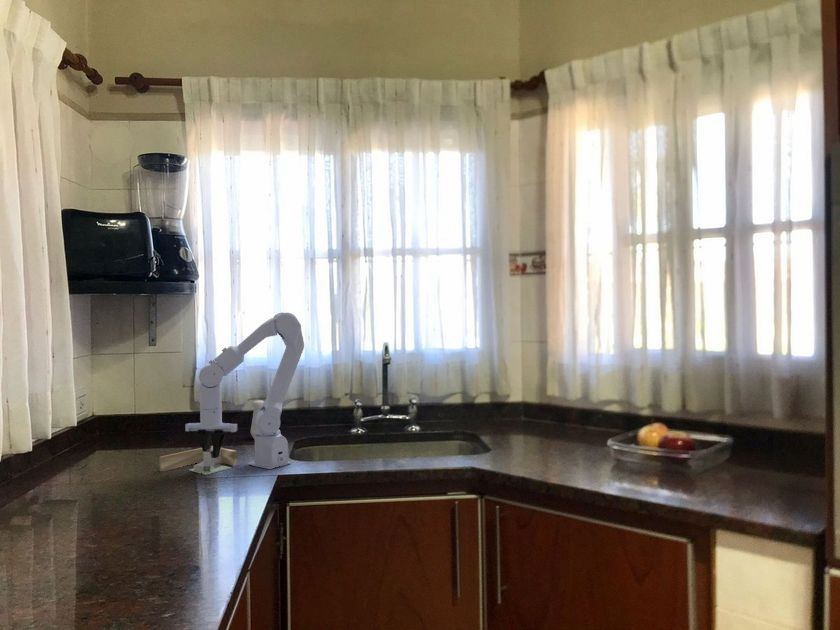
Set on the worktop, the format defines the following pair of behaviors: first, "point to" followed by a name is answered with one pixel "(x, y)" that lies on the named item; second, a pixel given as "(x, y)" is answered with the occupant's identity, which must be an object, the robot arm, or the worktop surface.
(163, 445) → the worktop surface
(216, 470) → the pad
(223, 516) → the worktop surface
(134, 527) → the worktop surface
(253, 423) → the salt shaker
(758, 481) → the worktop surface
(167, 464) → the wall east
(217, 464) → the bracket
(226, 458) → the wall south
